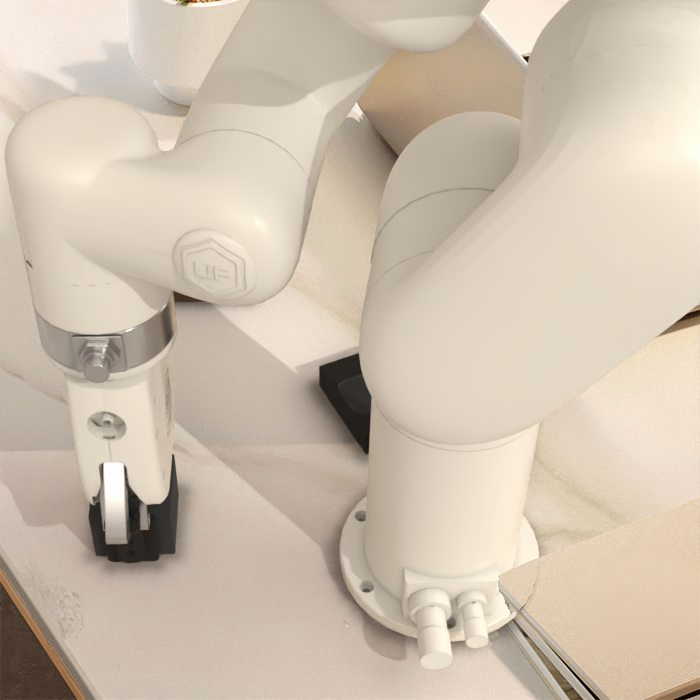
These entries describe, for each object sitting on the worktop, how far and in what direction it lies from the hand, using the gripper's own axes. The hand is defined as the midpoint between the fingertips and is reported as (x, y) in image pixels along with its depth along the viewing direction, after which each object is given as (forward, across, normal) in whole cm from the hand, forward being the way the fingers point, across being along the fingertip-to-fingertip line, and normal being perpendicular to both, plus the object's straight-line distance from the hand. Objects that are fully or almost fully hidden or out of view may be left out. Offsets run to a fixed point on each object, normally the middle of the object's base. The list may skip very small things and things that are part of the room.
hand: (137, 520), depth 82 cm
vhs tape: (+1, +12, -20) cm, 23 cm away
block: (0, 0, 0) cm, 0 cm away
